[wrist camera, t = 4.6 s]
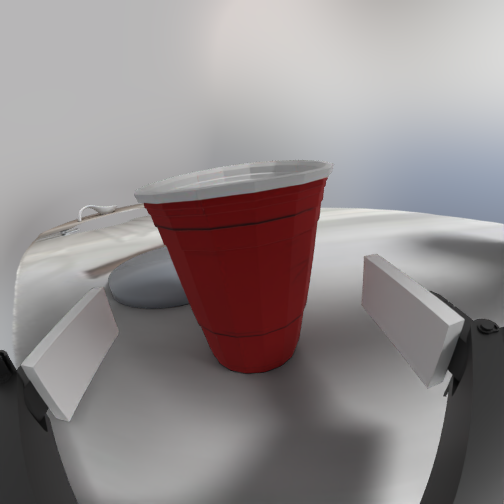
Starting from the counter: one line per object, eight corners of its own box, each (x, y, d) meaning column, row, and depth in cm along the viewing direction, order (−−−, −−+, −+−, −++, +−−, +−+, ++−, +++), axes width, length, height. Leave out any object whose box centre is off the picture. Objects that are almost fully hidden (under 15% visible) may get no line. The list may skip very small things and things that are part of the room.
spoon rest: (113, 211, 139) (111, 199, 137) (121, 210, 132) (118, 197, 129) (76, 222, 121) (74, 209, 119) (82, 222, 114) (79, 208, 112)
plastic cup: (150, 393, 14) (86, 189, 10) (206, 308, 24) (183, 172, 20) (339, 409, 12) (350, 151, 8) (329, 307, 22) (324, 157, 18)
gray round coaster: (231, 243, 44) (230, 234, 43) (273, 284, 27) (272, 270, 27) (122, 264, 39) (119, 255, 39) (98, 321, 23) (93, 307, 22)
